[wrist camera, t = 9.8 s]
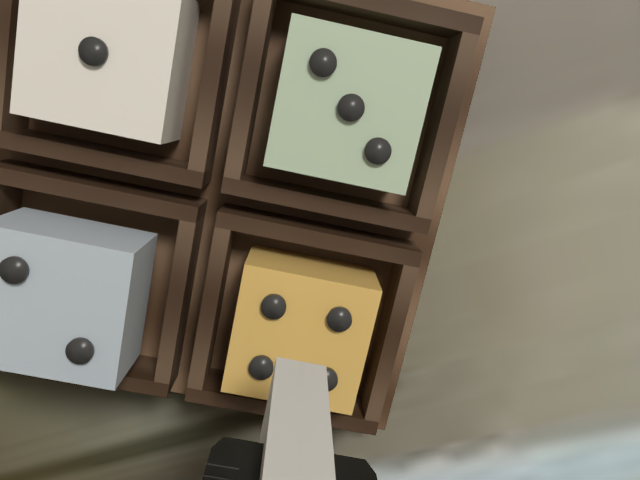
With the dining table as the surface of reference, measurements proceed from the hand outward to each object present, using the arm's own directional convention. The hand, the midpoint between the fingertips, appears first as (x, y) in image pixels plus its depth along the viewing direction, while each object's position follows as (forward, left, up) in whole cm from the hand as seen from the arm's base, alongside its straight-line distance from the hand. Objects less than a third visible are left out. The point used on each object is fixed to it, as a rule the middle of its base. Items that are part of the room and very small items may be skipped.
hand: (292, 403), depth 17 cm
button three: (+9, 0, -7) cm, 11 cm away
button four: (0, 0, -7) cm, 7 cm away
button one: (+9, +8, -7) cm, 14 cm away
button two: (0, +8, -6) cm, 10 cm away
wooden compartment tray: (+4, +4, -9) cm, 11 cm away
